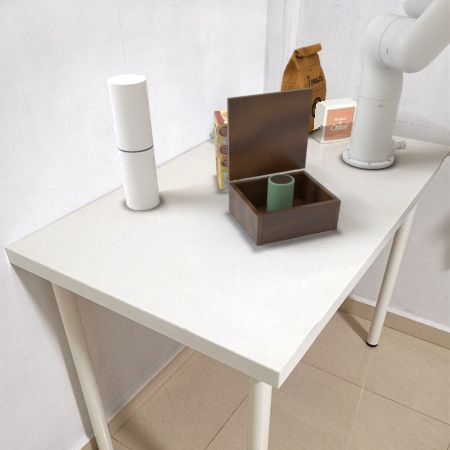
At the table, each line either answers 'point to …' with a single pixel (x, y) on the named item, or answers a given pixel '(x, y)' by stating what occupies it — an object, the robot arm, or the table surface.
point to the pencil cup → (280, 192)
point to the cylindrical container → (134, 139)
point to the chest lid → (268, 133)
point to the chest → (286, 218)
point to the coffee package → (306, 76)
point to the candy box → (221, 148)
